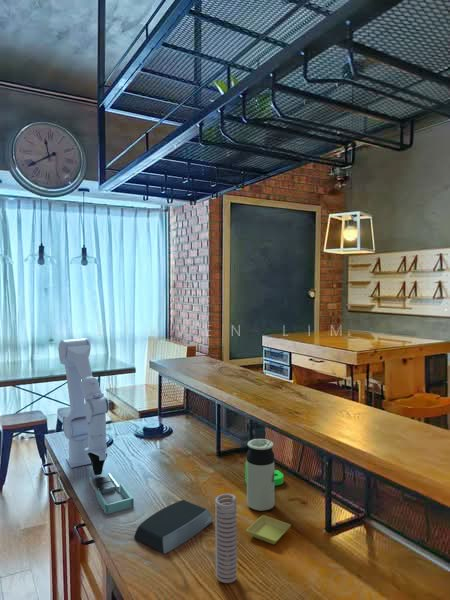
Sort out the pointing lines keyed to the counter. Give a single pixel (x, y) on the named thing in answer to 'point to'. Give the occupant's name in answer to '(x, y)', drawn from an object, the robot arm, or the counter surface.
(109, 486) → the block
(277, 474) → the mechanical part
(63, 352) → the robot arm
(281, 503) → the counter surface
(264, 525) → the saucer
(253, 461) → the travel mug
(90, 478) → the slot guide
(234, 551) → the coil
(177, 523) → the external hard drive
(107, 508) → the tray
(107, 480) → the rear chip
